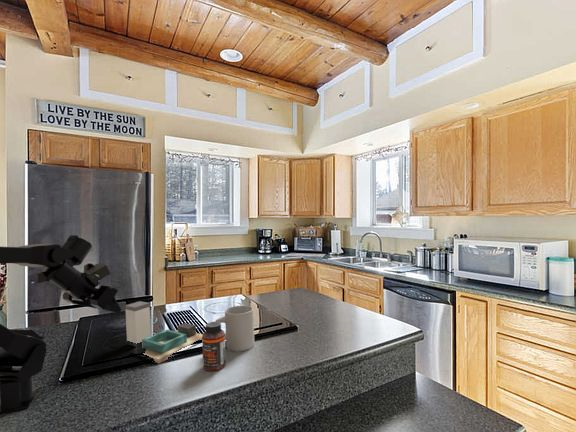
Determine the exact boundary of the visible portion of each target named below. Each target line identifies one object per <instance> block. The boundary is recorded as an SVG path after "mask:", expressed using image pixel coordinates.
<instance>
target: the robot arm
mask: <svg viewBox="0 0 576 432" xmlns="http://www.w3.org/2000/svg"><path fill="white" fill-rule="evenodd" d="M92 245H93V244H92V243H91V242H90V241H88V240H86V239H85V238H81V237H79V236H78V234H70V235H69V236H68V237H67V240H66V241H65V242H64V244H63V245H60V244H59V243H34V244H33V243H32V244H26V245H21V246H0V264H15V265H19V266H23V267H26V268H27V267H28V268H45V269H44V270H43V271H41V272H37V273H36V275H37V278H36V281H37V284H38V285H40V284H44V283H48V282H51V283H53V284H54V285H56V286H57V287H58V288H59V290H60V291H61V292H63V294H62V300H64V301H65V302H66V303H70V304H73V305H76V306H77V305H79V306H83V307H87V308H91V309H98V310H103V311H106V312H107V311H108V312H113V313H118V314H120V313H121V311H122V307H120V304H119V303H118V301H117V299H116V295H117V293H118V292H119V288H118V287H116V286H115V285H113V284H108V283H107V284H101V282H100V281H101V280H102V279H104V278H106V277H107V276H109V275H111V274H112V272H111V269H110V267H109V266H108V263H104V262H103V263H102V262H99V263H95V264H93V263H91V262H90V263H89V262H88V263H86V264H84V265H83V272H81V271H80V270H78V269H77V268H76V267H75V266H80V265H81V264H82V263H83V261H84V260H85V259H86V258H87V256H88V254H90V251H92V249H93V246H92ZM100 284H101V285H100ZM99 285H100V287H99V288H97V287H98V286H99ZM44 339H45V336H40V335H39V334H37V332H35V330H33V329H10V328H8V327H6V326H5V325H3V324H2V323H0V414H4V413H7V412H13V411H19V410H24V409H28V408H29V407H31V406H32V404H33V403H34V401H35V400H36V399H37V398H38V396H39V395H40V393H41V390H40V389H39V390H34V376H36V375H37V374H39V373H41V372H42V371H43V368H44V362H45V358H46V354H47V342H46V341H44Z"/></svg>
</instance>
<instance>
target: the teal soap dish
mask: <svg viewBox="0 0 576 432" xmlns="http://www.w3.org/2000/svg"><path fill="white" fill-rule="evenodd" d="M196 329H197V328H196V325H195V324H192V323H191V324H190V323H186V322H184V323H182V324H180V325H177V329H176V330H171V329H165V330H163V331H160V332H158V333H155V334H153V335H151V336H150V337H148V338H145V339H143V340H142V348H145V349H146V351H145V353H143V354H144V355H147V356H149V357H151V358H153V359H154V361H155V362H154V363H157V364H161V363H163V362H165V361H167V360H169V359H168V357H169V356H170V355H172V354H173V353H174V352H177V351H179V350H181V349H182V348H185V347H187V346H189V345H191V344H193V343H194V342H196V341H198V340H200V339H202V335H203V333H198V332H197V330H196Z"/></svg>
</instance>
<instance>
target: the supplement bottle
mask: <svg viewBox="0 0 576 432" xmlns="http://www.w3.org/2000/svg"><path fill="white" fill-rule="evenodd" d="M225 333H226V331H224V330H223V329H222V323H220V322H215V321H210V322H207V323H206V324H205V331H204V332H203V333H202V334H203V335H202V342H201V344H202V345H201V347H202V365H203V368H204V369H205V370H206V371H210V372H212V371H218V370H220V369H223V368H224V367H225V366H226V364H227V363H226V362H227V361H226V360H227V358H226V340H225Z"/></svg>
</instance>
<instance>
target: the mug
mask: <svg viewBox="0 0 576 432" xmlns="http://www.w3.org/2000/svg"><path fill="white" fill-rule="evenodd" d="M214 322H220V323H221V324H222V323H223V324H224V325H225V348H226V349H227V350H229V351H231V352H245V351H248V350H250V349H252V348H254V346H255V344H256V343H255V324H254V308H253V307H252V306H250V305H249V306H248V305H234V306H231V307H228V308H226V309H225V311H224V316H222V317H219V318H217V319H216V320H215V321H214Z"/></svg>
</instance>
